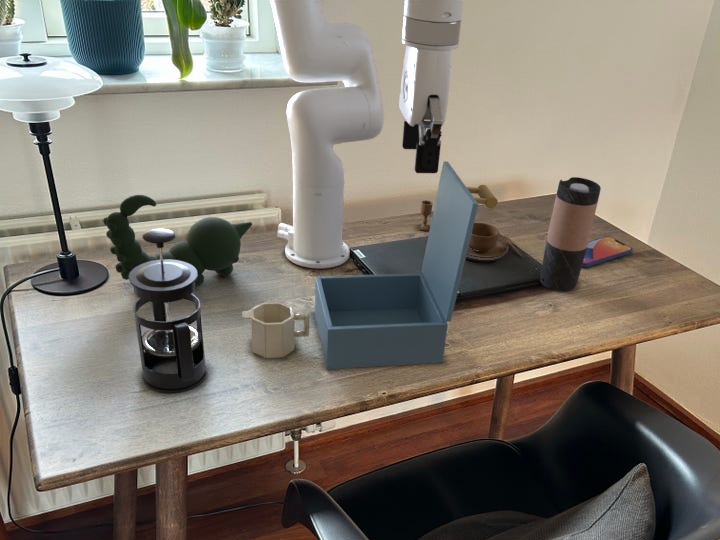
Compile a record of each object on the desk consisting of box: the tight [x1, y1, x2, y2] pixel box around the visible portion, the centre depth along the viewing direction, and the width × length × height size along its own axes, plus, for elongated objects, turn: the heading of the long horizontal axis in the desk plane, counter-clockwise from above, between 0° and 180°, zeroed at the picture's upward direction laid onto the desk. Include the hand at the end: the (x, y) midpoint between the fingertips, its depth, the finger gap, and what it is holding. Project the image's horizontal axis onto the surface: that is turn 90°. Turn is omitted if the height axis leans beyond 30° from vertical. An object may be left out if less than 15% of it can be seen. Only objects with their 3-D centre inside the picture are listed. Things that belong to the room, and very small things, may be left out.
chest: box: [314, 272, 449, 370], centre depth 121 cm, size 19×17×7 cm
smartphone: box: [582, 236, 633, 268], centre depth 155 cm, size 7×15×1 cm, turn 124°
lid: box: [421, 160, 499, 323], centre depth 116 cm, size 19×17×6 cm
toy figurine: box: [102, 194, 253, 287], centre depth 128 cm, size 9×19×25 cm
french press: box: [128, 228, 208, 394], centre depth 103 cm, size 12×9×23 cm
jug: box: [242, 301, 310, 359], centre depth 117 cm, size 10×7×6 cm, turn 102°
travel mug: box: [539, 176, 602, 292], centre depth 138 cm, size 8×8×20 cm
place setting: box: [417, 199, 524, 263], centre depth 154 cm, size 18×20×6 cm
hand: (419, 160), depth 106 cm, fingers open, 9 cm apart
